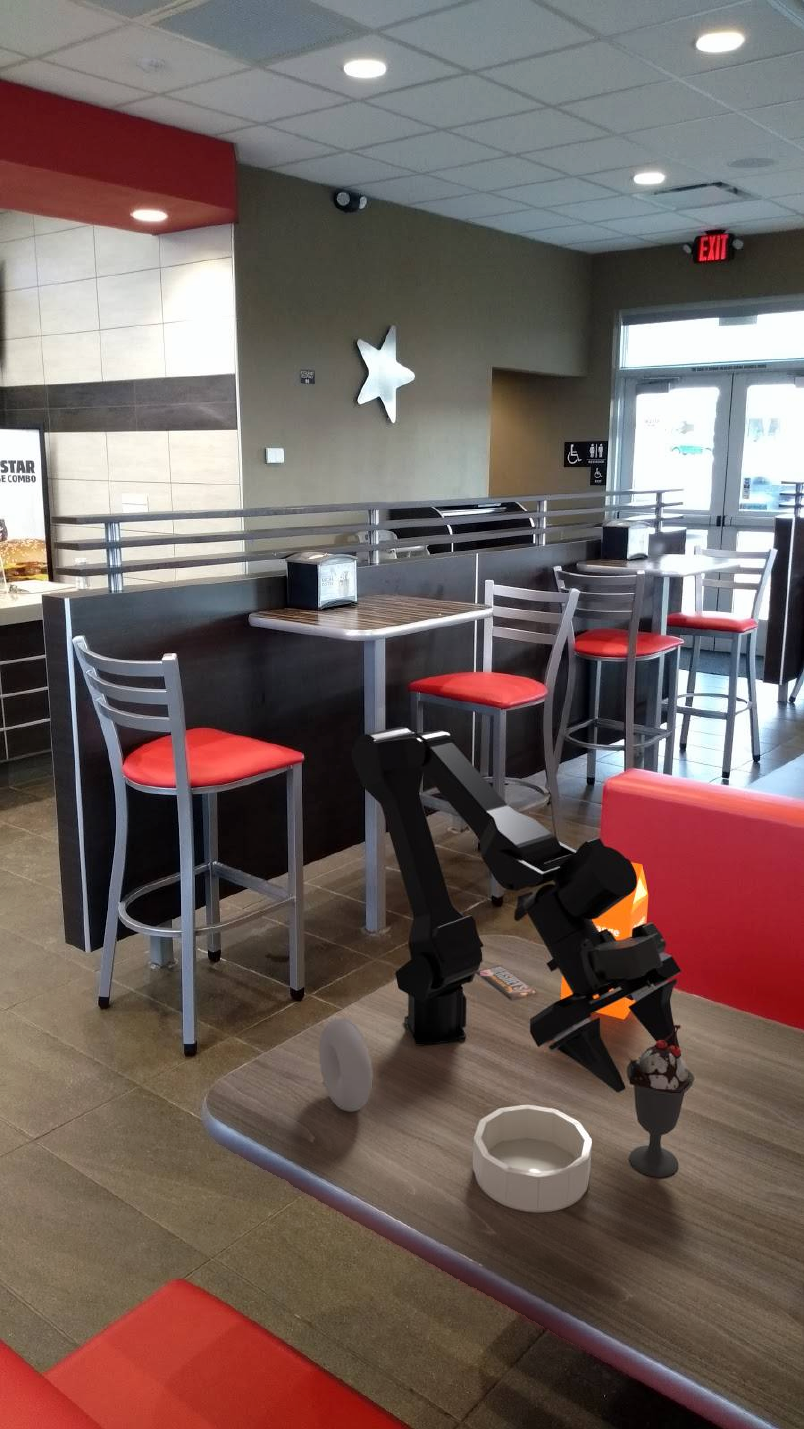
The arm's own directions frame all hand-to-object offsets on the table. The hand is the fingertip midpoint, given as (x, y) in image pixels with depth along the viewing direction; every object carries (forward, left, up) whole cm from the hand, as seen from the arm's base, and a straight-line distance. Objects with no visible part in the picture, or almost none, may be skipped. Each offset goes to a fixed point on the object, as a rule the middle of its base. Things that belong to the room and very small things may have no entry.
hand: (650, 1074), depth 109 cm
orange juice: (+10, +32, -10) cm, 35 cm away
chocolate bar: (-1, +39, -10) cm, 40 cm away
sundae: (+1, -1, -10) cm, 10 cm away
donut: (-28, +16, -10) cm, 34 cm away
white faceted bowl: (-12, 0, -9) cm, 16 cm away
